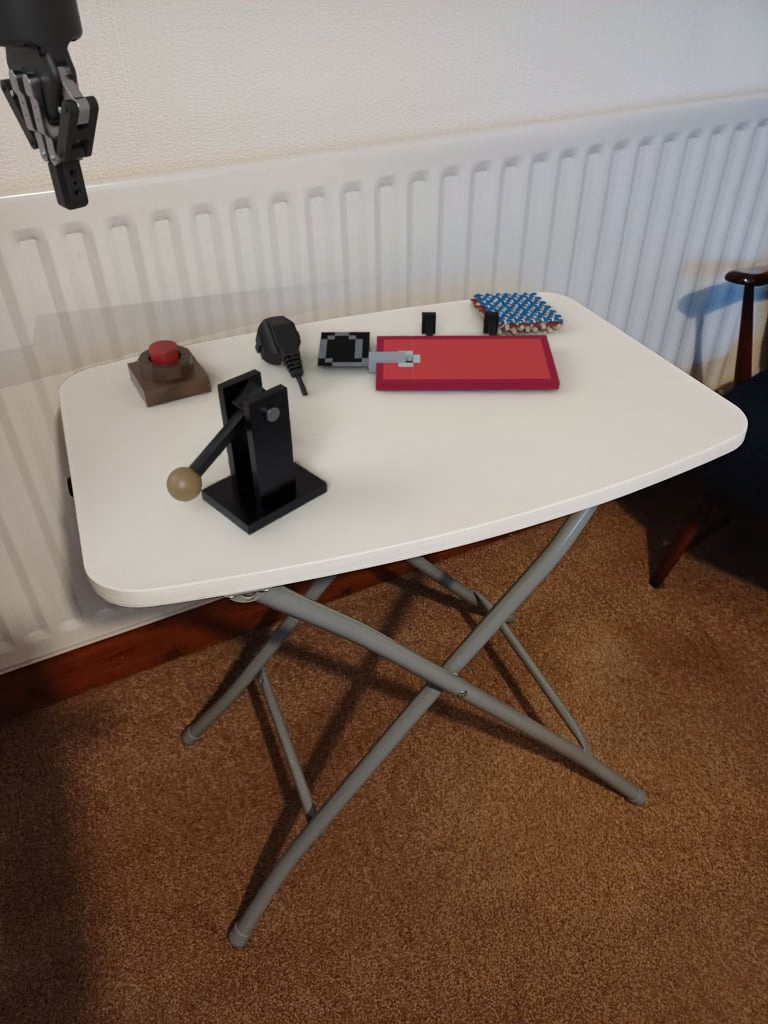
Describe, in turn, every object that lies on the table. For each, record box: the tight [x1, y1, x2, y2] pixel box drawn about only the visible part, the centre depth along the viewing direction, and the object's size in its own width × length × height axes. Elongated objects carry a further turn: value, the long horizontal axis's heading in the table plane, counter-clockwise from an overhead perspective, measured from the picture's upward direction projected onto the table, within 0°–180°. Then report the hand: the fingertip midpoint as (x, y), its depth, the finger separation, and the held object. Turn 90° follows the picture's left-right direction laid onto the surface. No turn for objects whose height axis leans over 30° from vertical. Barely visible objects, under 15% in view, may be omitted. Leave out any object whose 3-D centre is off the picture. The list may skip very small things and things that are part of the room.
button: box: [148, 339, 179, 364], centre depth 96 cm, size 3×3×2 cm
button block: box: [126, 344, 212, 408], centre depth 97 cm, size 8×8×4 cm
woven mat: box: [470, 291, 564, 335], centre depth 111 cm, size 10×11×2 cm
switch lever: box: [165, 381, 267, 503], centre depth 73 cm, size 13×3×3 cm, turn 135°
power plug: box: [254, 315, 309, 397], centre depth 100 cm, size 6×8×12 cm
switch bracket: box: [200, 368, 328, 536], centre depth 77 cm, size 10×8×13 cm
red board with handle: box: [317, 311, 561, 391], centre depth 101 cm, size 30×3×15 cm
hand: (74, 206), depth 69 cm, fingers closed
